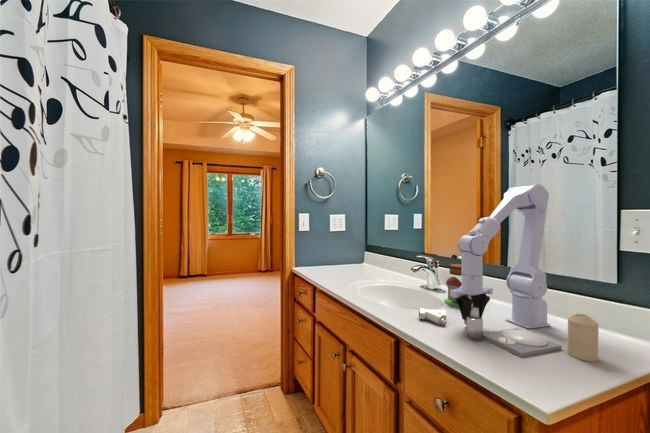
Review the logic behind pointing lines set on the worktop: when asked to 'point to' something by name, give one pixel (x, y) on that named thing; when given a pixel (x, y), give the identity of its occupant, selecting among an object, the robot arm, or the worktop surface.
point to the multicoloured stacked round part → (454, 283)
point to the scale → (521, 342)
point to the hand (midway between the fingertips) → (471, 319)
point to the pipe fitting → (433, 315)
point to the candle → (583, 337)
